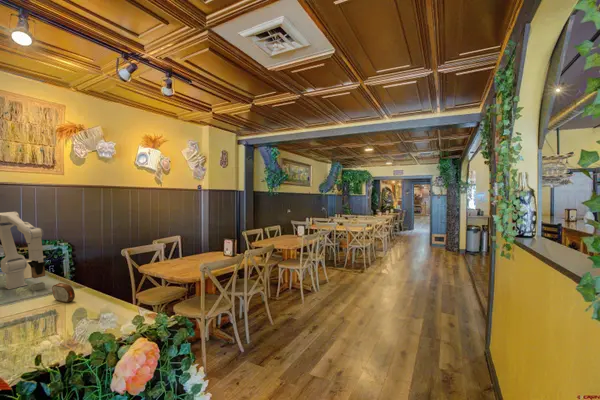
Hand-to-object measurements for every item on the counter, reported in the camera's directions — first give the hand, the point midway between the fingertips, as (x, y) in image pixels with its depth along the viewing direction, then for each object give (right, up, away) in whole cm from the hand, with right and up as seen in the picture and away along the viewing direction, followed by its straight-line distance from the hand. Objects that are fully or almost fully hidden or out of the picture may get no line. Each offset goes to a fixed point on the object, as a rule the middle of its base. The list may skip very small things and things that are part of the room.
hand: (37, 273), depth 157 cm
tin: (+33, -8, -21) cm, 40 cm away
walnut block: (0, -2, 0) cm, 2 cm away
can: (-28, -9, +24) cm, 39 cm away
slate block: (0, -9, 0) cm, 9 cm away
